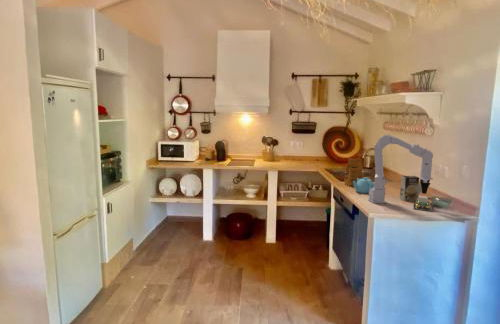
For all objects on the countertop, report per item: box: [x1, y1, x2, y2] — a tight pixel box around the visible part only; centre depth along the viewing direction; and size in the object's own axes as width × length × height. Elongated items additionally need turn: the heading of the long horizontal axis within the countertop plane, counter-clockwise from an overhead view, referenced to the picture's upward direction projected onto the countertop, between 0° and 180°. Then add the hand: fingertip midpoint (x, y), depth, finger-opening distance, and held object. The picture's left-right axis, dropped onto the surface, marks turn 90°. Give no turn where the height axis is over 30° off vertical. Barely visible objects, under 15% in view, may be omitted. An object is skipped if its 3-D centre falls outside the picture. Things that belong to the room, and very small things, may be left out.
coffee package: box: [344, 157, 363, 187], centre depth 264 cm, size 10×12×22 cm
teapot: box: [353, 177, 374, 195], centre depth 243 cm, size 15×15×11 cm
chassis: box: [412, 201, 433, 212], centre depth 203 cm, size 13×10×4 cm
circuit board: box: [415, 195, 430, 206], centre depth 203 cm, size 10×7×4 cm
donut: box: [418, 183, 422, 196], centre depth 232 cm, size 10×4×10 cm, turn 88°
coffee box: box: [399, 175, 420, 202], centre depth 221 cm, size 9×6×16 cm
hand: (423, 192), depth 202 cm, fingers open, 7 cm apart
